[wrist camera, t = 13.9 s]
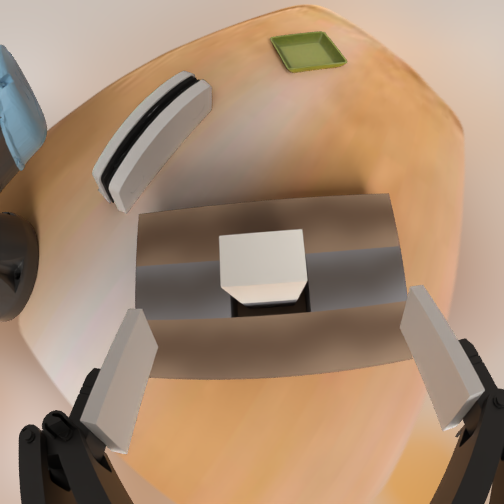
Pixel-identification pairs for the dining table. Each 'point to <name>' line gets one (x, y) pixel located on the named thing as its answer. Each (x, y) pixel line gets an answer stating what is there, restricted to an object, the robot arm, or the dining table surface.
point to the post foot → (274, 318)
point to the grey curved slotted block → (151, 138)
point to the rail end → (263, 267)
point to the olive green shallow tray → (308, 51)
